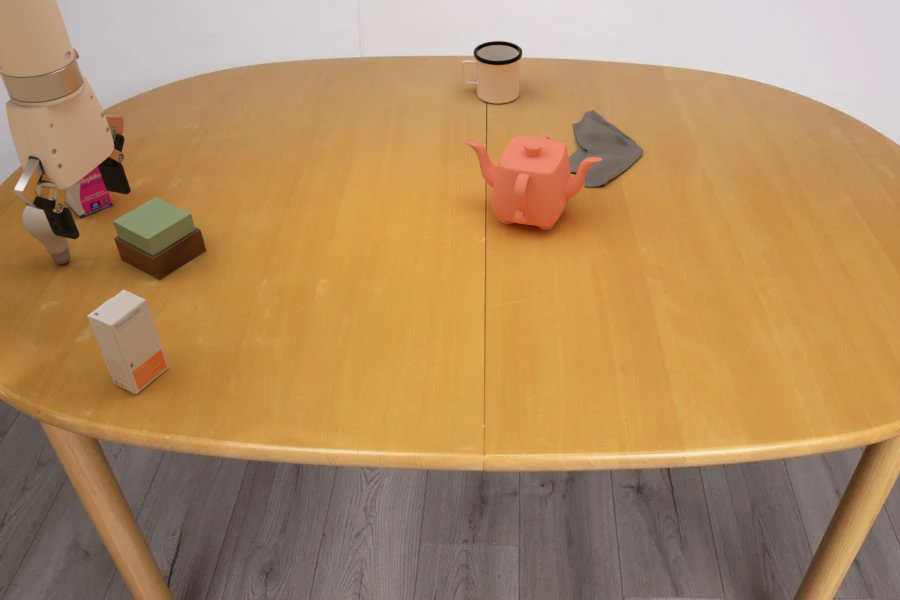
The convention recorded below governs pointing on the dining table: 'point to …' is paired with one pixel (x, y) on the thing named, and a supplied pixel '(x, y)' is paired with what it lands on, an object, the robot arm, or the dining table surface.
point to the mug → (496, 71)
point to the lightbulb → (45, 234)
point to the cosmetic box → (128, 341)
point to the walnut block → (163, 254)
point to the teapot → (531, 180)
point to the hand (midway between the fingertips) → (94, 213)
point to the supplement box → (88, 194)
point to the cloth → (602, 149)
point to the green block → (154, 225)
